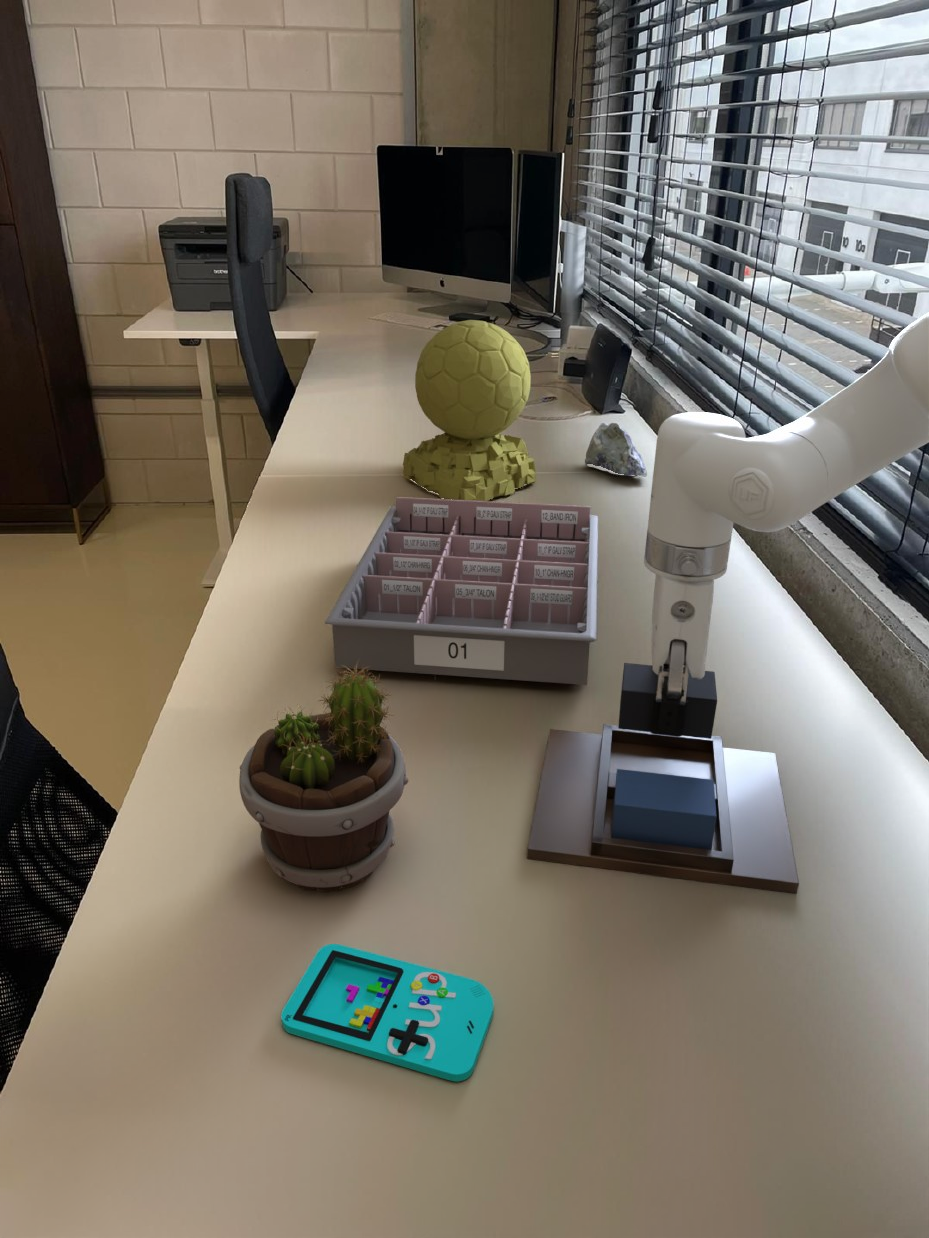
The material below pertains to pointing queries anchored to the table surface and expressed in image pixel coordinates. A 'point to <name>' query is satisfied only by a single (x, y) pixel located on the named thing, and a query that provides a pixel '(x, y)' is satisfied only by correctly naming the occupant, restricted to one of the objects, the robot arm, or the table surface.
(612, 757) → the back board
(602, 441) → the mineral rock
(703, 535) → the robot arm
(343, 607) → the organizer tray
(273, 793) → the flowerpot
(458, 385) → the trophy
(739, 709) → the table surface
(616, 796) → the blue block
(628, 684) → the black rectangular block
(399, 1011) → the handheld gaming console
